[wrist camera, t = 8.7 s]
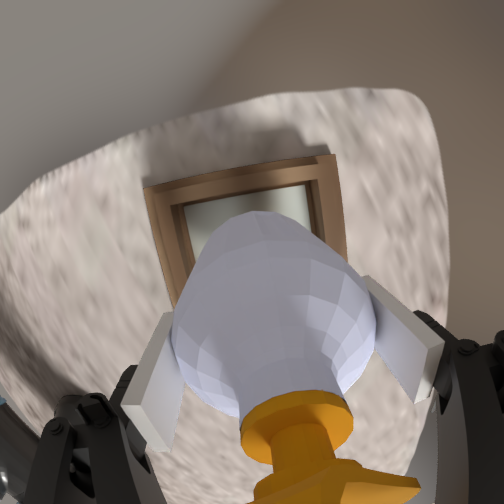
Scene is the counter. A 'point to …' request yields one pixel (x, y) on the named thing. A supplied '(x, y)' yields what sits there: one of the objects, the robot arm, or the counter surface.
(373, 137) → the counter surface
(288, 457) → the orange capped white bottle
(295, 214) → the picture frame
